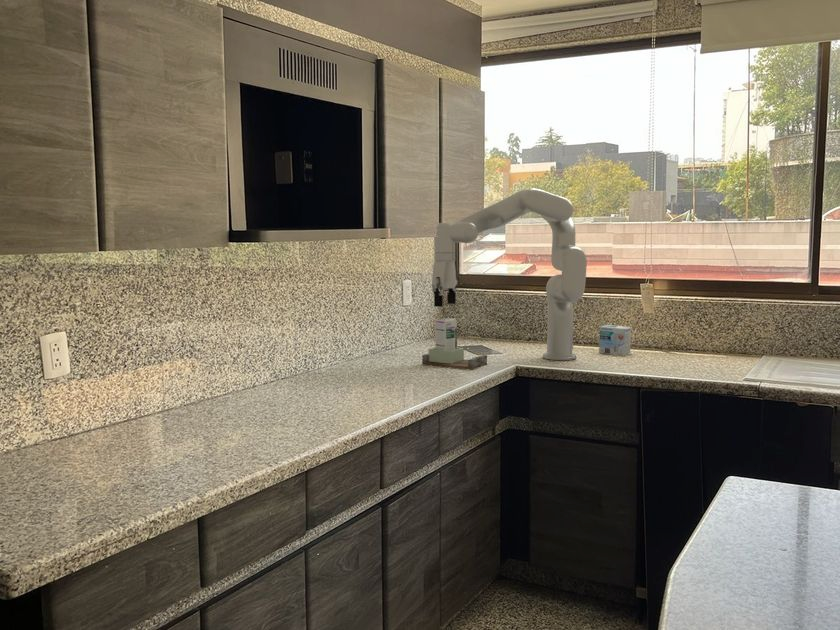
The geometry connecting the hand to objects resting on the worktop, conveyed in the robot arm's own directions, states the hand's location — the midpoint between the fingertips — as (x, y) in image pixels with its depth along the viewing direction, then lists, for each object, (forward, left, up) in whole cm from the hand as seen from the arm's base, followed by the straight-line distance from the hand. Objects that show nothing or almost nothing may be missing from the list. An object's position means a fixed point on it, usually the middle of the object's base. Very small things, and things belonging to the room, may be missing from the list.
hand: (445, 305), depth 277 cm
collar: (0, +1, -20) cm, 20 cm away
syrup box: (0, 0, -20) cm, 20 cm away
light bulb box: (-54, +47, -22) cm, 74 cm away
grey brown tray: (0, +4, -21) cm, 22 cm away
